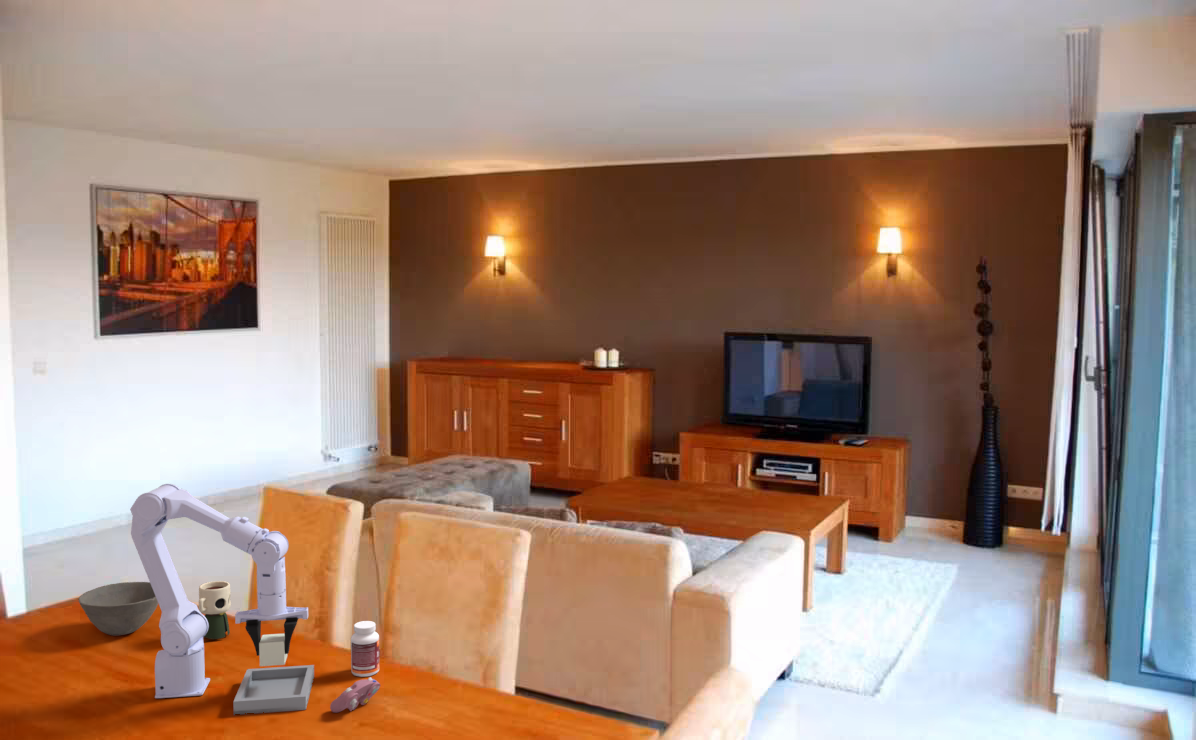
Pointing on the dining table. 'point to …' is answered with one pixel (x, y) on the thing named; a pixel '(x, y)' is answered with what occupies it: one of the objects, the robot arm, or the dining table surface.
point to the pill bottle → (364, 649)
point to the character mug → (215, 607)
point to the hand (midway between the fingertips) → (273, 653)
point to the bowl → (119, 606)
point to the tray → (274, 689)
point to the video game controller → (355, 695)
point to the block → (272, 650)
